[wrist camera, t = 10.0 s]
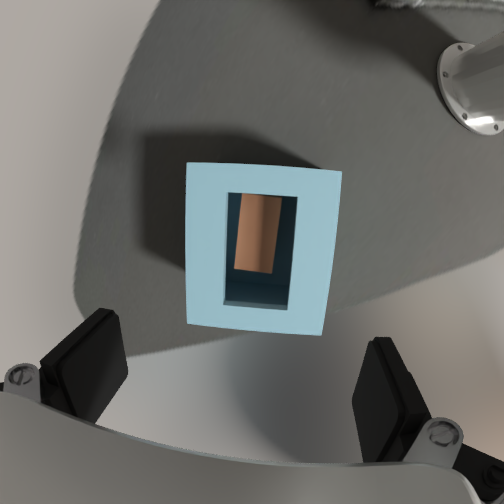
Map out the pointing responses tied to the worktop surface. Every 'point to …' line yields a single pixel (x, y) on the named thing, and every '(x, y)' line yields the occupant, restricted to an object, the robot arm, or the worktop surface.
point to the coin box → (286, 251)
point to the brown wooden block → (257, 232)
